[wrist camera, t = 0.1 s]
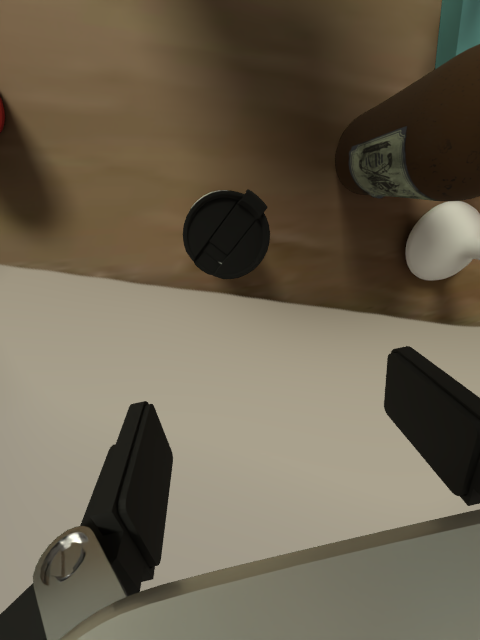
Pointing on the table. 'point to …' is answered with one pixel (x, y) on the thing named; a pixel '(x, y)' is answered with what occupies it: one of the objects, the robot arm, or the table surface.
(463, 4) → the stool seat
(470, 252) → the flower in vase
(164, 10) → the table surface
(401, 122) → the olive oil
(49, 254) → the table surface
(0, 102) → the canned food
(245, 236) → the travel mug
